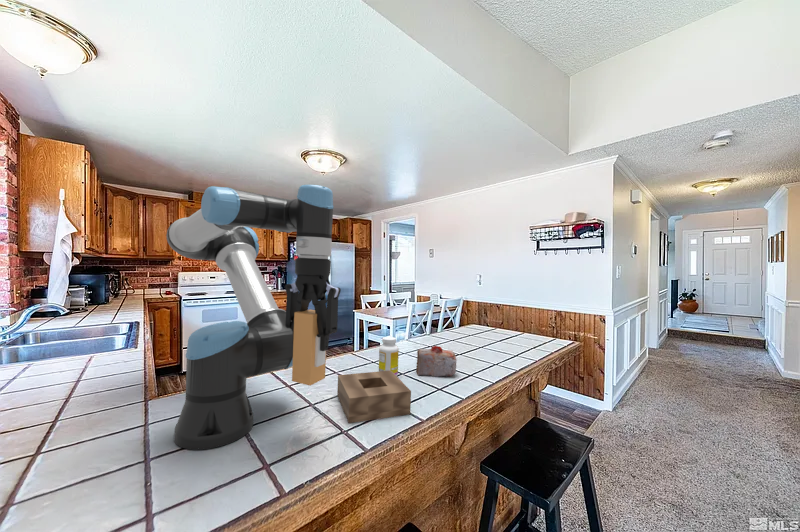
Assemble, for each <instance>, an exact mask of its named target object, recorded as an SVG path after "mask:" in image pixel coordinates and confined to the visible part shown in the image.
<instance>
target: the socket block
mask: <svg viewBox="0 0 800 532" xmlns="http://www.w3.org/2000/svg"><path fill="white" fill-rule="evenodd" d="M336 396H337V399H338V402H339V403H341V404H340V406H341V408H342V411H343V414H344V416H345V418H346V420H347V422H348V424H353V423H359V422H366V421H374V420H379V419H380V420H381V419H387V418H394V416H395V417H400V416H402V417H403V416H408V415H411V409H412V407H411V403H412V402H411V401H412V397H411V396H412V390H411V389H410V388H409V387H408V386H407V385H406V384H405V383H404V382H403V381H402V380H401V379H400V378H399V377H398V375H397V376H396V375H395V374H394V373H393V372H392V371H391V370H390V371H379V370H378V371H370V372H359V373H348V374H347V373H346V374H338V375H337V395H336Z"/></svg>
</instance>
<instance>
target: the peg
mask: <svg viewBox="0 0 800 532" xmlns="http://www.w3.org/2000/svg"><path fill="white" fill-rule="evenodd" d="M317 334H319V332H318V326H317V314H315V309H308V310H307V311H301V312H295V313H294V340H293V367H291V368H292V371H291V372H292V373H291V374H292V375H291V382H294V383H298V384H302V385H306V386H308V387H309V386H312V385H315V384H316V383H318V382H320V381H322V380H324V379H326V364H327V363H326V362H327V355H326V356H325V364H323V365H321V366H318V367H315V341H316V336H317Z"/></svg>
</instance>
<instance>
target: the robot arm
mask: <svg viewBox="0 0 800 532" xmlns="http://www.w3.org/2000/svg"><path fill="white" fill-rule="evenodd" d="M297 190H298V191H297V195H296V198H293V199H288V198H281V197H277V196H273V195H272V196H271V195H266V194H261V193H255V192H250V191H246V190H240V189H236V188H235V189H234V188H231V187H227V186H224V187H223V186H214V185H212V186H208V187H206V189H205V190H204V193H203V195H202V198H201V201H200V202H201V204H200V209H198V210H197V211H195V212H194V213H192V214H191V215H190V216H188V217H182V218H179V219H177V220H175V221H174V222H173V223H171V224H170V226H169V227H168V228H167V231H166V241H167V244H168V245H169V248H171V249H172V250H173V251H175V252H176V254H179V255H181V256H182V257H184V258H187V259H191V260H196V261H199V260H200V261H215V263H216V266H217V267H218V269H220V270H221V271H224V272H225V273H226V276H227V278H228V280H229V283H230V286H231V287H232V290H233V292H234V295H235V298H236V300H237V303H238V305H239V306H240V307H239V308H240V310H241V312H242V314H243V316H244V318H245V321H241V320H233V321H223V322H218V323H213V324H210V325H206V326H203V327H200V328H198V329H196V330H194V331H192V333H190V335H189V337H188V338H187V339H188V340H187V347H186V352H185V359H186V366H185V367H186V369H185V371H186V373H185V401H184V404H183V406H182V409H181V411H180V415H179V417H178V419H177V423H176V425H175V428H174V438H173V439H174V440H173V441H174V443H175V444H176V445H177V446H178V447H180V448H182V449H185V450H186V449H187V450H208V449H214V448H219V447H221V446H222V447H223V446H226V445H228V444H231V443H233V442H236V441H237V440H239V439H241V438H243V437H245V436H246V435H247V434H248V433H249V432H250V431H251V430H252V428H253V426H254V412H253V409H252V407H251V406H252V405H251V404H250V400H249V397H248V395H247V379H248V378H250V377H255V376H259V375H261V376H262V375H263V374H264V375H265V374H269V373H272V372H277V371H281V370H287V369H289V368H292V367H293V340H294V313H295V312H301V311H307V310H309V306H310V303H311V304H312V305H313V307H314V310H315V314H317V326H318V332H319V334H317V336H316V341H315V367H318V366H321V365H323V364H325V356H326V357H327V351H328V350H329V341H330V339H329V338H330V335H332V334H336V333H337V332H338V324H339V323H338V318H339V316H338V315H339V297H340V295H341V291H342V290H341V288H340V287H335V286H333V285H332V284H331V282H330V280H329V277H330V275H331V266H332V264H331V263H332V261H331V259H329V257H331V256H332V243H333V242H332V237H333V236H332V235H333V216H334V194H333V190H332V189H331V188H329V187H327V186H324V185H318V184H302V185H300V186H299V187H298V189H297ZM254 229H260V230H269V231H270V230H271V231H272V230H273V231H277V232H280V233H286V234H289V233H293V232H294V233H295V232H296V235H295V236H296V239H295V241H296V242H295V245H296V246H295V254H296V256H298V257H296V259H295V260H294V261H295V264H294V265H295V266H294V273H295V275H296V276H297V277H296V279H295V282H293V283H286V284H285V286H284V288H285V293H286V304H285V310H284V309H282V308H279V307H278V305H277V302H276V301H275V298H274V296H273V294H272V292H271V291H270V289H269V287H268V284H267V283H266V280H265V278H264V277H263V274H262V272H261V270H260V268H259V266H258V263H256V259H257V256H258V254H259V251H260V244H259V237H258V235H257V233H256V231H254Z"/></svg>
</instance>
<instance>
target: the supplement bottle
mask: <svg viewBox="0 0 800 532" xmlns="http://www.w3.org/2000/svg"><path fill="white" fill-rule="evenodd" d="M381 341H382V344H381V345H380V346H379V352H378V372H379V371H390V370H391V371H392V372H393V373H394V374H395V375H396V376H397V377H398V374H399V351H400V349H399V347H398V345H396V343H397V338H396V337H393V336H384V337H382V340H381Z"/></svg>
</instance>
